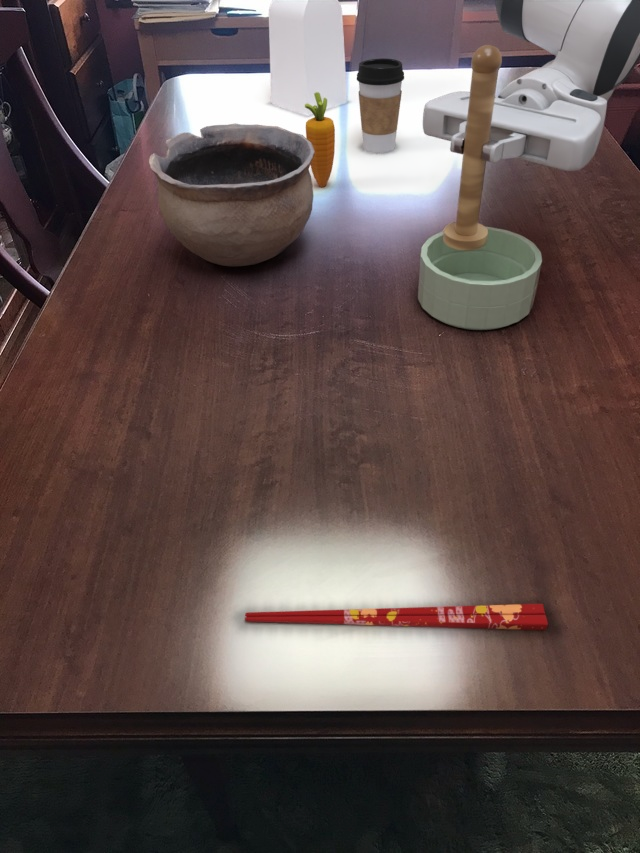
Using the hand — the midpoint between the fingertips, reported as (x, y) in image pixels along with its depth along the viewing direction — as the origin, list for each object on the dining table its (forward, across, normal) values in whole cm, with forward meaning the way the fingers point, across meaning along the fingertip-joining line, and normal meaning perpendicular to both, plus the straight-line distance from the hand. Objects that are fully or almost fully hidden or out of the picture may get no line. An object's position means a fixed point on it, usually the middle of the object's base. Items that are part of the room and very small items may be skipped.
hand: (471, 150), depth 75 cm
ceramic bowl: (+5, -33, +21) cm, 39 cm away
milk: (-50, -68, +21) cm, 87 cm away
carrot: (-19, -38, +21) cm, 47 cm away
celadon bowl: (-3, +1, +20) cm, 21 cm away
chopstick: (+42, +21, +20) cm, 51 cm away
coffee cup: (-38, -40, +21) cm, 59 cm away
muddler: (-1, 0, +11) cm, 11 cm away
